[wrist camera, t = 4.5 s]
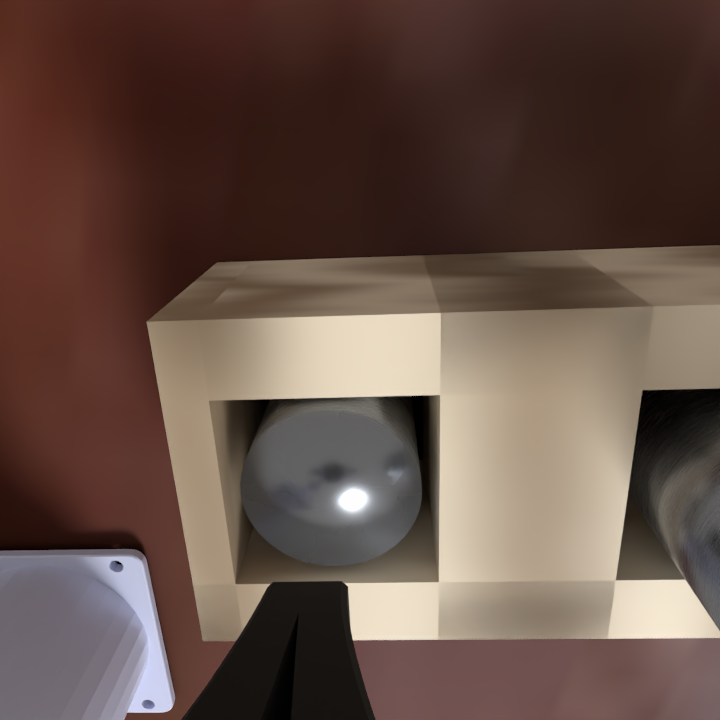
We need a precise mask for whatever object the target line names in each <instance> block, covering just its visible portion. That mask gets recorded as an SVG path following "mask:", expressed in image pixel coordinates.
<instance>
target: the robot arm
mask: <svg viewBox="0 0 720 720" xmlns="http://www.w3.org/2000/svg"><path fill="white" fill-rule="evenodd" d="M115 561H119V562H120V563H122V565H119V564H117V563H116V562H115ZM174 701H175V695H174V690H173V685H172V680H171V675H170V671H169V666H168V661H167V656H166V651H165V647H164V642H163V637H162V632H161V627H160V622H159V618H158V613H157V608H156V603H155V598H154V594H153V589H152V584H151V579H150V574H149V570H148V565H147V560H146V558H145V556H144V555H143V554H142V553H141V552H140V551H138V550H134V549H91V550H15V551H0V720H124V719H125V716H126V714H127V712H167V711H169V710H171V708H172V707H173V704H174ZM182 720H375V717H374V714H373V711H372V708H371V705H370V702H369V699H368V696H367V692H366V689H365V686H364V682H363V678H362V675H361V671H360V668H359V664H358V661H357V657H356V653H355V648H354V644H353V639H352V634H351V628H350V611H349V595H348V586H347V585H346V584H345V583H343V582H342V581H301V582H272V583H271V584H270V585H269V586H268V587H267V589H266V591H265V593H264V595H263V596H262V598H261V600H260V602H259V604H258V605H257V607H256V609H255V611H254V612H253V614H252V616H251V618H250V619H249V621H248V623H247V624H246V626H245V628H244V629H243V631H242V632H241V634H240V636H239V637H238V639H237V641H236V642H235V644H234V645H233V647H232V648H231V650H230V651H229V653H228V654H227V656H226V657H225V659H224V660H223V662H222V663H221V665H220V666H219V668H218V669H217V671H216V672H215V674H214V675H213V677H212V678H211V680H210V681H209V683H208V684H207V686H206V687H205V689H204V690H203V691H202V693H201V694H200V695H199V697H198V698H197V699H196V701H195V702H194V703H193V705H192V706H191V707H190V709H189V710H188V712H187V713H186V714H185V716H184V717H183V718H182Z"/></svg>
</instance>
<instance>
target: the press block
mask: <svg viewBox="0 0 720 720" xmlns="http://www.w3.org/2000/svg"><path fill="white" fill-rule="evenodd" d="M147 327H148V332H149V338H150V344H151V349H152V355H153V361H154V366H155V372H156V378H157V383H158V389H159V394H160V400H161V406H162V411H163V417H164V423H165V428H166V434H167V440H168V445H169V451H170V457H171V462H172V468H173V474H174V479H175V485H176V491H177V496H178V502H179V508H180V513H181V519H182V525H183V530H184V536H185V542H186V547H187V553H188V559H189V564H190V570H191V576H192V581H193V587H194V593H195V598H196V604H197V610H198V615H199V621H200V627H201V632H202V638H203V641H237V639H238V637H239V636H240V634H241V632H242V631H243V629H244V628H245V626H246V624H247V623H248V621H249V619H250V618H251V616H252V614H253V612H254V611H255V609H256V607H257V605H258V604H259V602H260V600H261V598H262V596H263V595H264V593H265V591H266V589H267V587H268V586H269V585H270V584H271V583H272V582H301V581H342V582H343V583H345V584H346V585H347V586H348V595H349V611H350V628H351V634H352V639H353V640H456V639H617V638H720V631H719V629H718V628H717V626H716V625H715V623H714V622H713V620H712V619H711V617H710V616H709V614H708V613H707V611H706V610H705V608H704V607H703V605H702V604H701V602H700V601H699V599H698V598H697V596H696V595H695V593H694V592H693V590H692V589H691V587H690V586H689V584H688V583H687V581H686V580H685V578H684V577H683V575H682V574H681V572H680V571H679V569H678V568H677V566H676V565H675V564H674V562H673V561H672V559H671V558H670V556H669V555H668V553H667V552H666V550H665V549H664V547H663V546H662V544H661V543H660V541H659V540H658V538H657V537H656V535H655V534H654V532H653V531H652V529H651V528H650V526H649V525H648V523H647V522H646V520H645V519H644V517H643V516H642V514H641V513H640V511H639V510H638V508H637V507H636V505H635V504H634V502H633V501H632V499H631V498H630V496H629V495H628V490H629V482H630V475H631V468H632V461H633V454H634V447H635V440H636V433H637V425H638V418H639V411H640V404H641V397H642V390H672V389H714V388H720V245H710V246H681V247H651V248H622V249H593V250H564V251H535V252H505V253H476V254H447V255H418V256H389V257H359V258H330V259H301V260H272V261H242V262H217V263H216V264H214V265H213V266H212V267H211V268H210V269H208V270H207V271H206V272H205V273H204V274H203V275H201V276H200V277H199V278H198V279H197V280H195V281H194V282H193V283H192V284H191V285H190V286H188V287H187V288H186V289H185V290H184V291H182V292H181V293H180V294H179V295H178V296H177V297H175V298H174V299H173V300H172V301H171V302H169V303H168V304H167V305H166V306H165V307H163V308H162V309H161V310H160V311H159V312H158V313H156V314H155V315H154V316H153V317H152V318H150V319H149V320H148V321H147ZM422 395H423V460H419V465H420V474H421V483H422V500H421V505H420V510H419V513H418V515H417V518H416V520H415V522H414V524H413V526H412V527H411V529H410V530H409V532H408V533H407V534H406V536H405V537H404V538H403V539H402V540H401V541H400V542H399V543H398V544H397V545H395V546H394V547H393V548H391V549H390V550H389V551H387V552H385V553H384V554H382V555H380V556H378V557H376V558H373V559H371V560H369V561H365V562H362V563H358V564H353V565H347V566H323V565H316V564H311V563H307V562H303V561H300V560H298V559H295V558H292V557H290V556H288V555H286V554H284V553H282V552H281V551H279V550H278V549H276V548H275V547H273V546H272V545H271V544H270V543H268V542H267V541H266V540H265V539H264V538H263V537H262V536H261V535H260V534H259V533H258V532H257V530H256V529H255V527H254V526H253V525H252V523H251V522H250V520H249V518H248V516H247V514H246V511H245V509H244V506H243V502H242V498H241V489H240V481H241V473H242V469H243V465H244V462H245V460H246V457H247V455H248V452H249V450H250V447H251V445H252V442H253V440H254V437H255V435H256V432H257V430H258V428H259V425H260V423H261V420H262V418H263V415H264V413H265V410H266V408H267V405H268V403H267V399H297V398H339V397H381V396H422Z"/></svg>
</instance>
